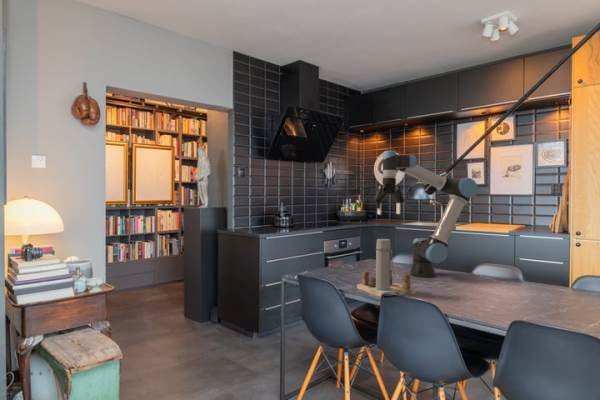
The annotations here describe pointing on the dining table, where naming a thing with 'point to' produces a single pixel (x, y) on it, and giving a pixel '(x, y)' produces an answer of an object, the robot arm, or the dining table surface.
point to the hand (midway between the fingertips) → (389, 214)
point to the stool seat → (402, 288)
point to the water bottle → (383, 264)
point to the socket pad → (385, 290)
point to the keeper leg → (373, 281)
